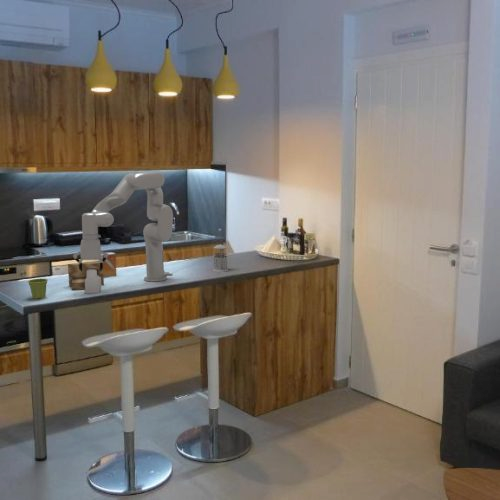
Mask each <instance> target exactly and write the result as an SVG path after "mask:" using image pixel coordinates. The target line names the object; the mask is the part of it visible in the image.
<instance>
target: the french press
mask: <svg viewBox="0 0 500 500" xmlns="http://www.w3.org/2000/svg"><path fill="white" fill-rule="evenodd" d="M221 231H222V228H218V232H221ZM227 248H228V247H227V246H226V245H225V244H221V243H219V244H216V245H215V246H214V247H213V250H219V252H216V253H214V256H213V269H212V271H213V272H228V271H229V268H228V256H227V253H226V252H225V251H224V250H225V249H227ZM222 250H223V251H222Z"/></svg>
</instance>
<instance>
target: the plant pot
mask: <svg viewBox="0 0 500 500" xmlns="http://www.w3.org/2000/svg"><path fill="white" fill-rule="evenodd" d="M48 281H49V280H48V278H34V279H29V280H27V283H28V286H29V289H30V292H31V298H32V299H33V300H34V299H35V300H38V299H44V298H46V296H47V295H46V294H47V283H48Z"/></svg>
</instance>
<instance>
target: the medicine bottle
mask: <svg viewBox="0 0 500 500" xmlns="http://www.w3.org/2000/svg"><path fill="white" fill-rule="evenodd" d="M86 277H87V278H86V279H85V290H84V294H100V293H101V291H102V285H101V277H99V273H98V269H95V268H91V269H87V270H86Z"/></svg>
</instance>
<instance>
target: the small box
mask: <svg viewBox="0 0 500 500" xmlns="http://www.w3.org/2000/svg"><path fill="white" fill-rule="evenodd" d="M106 253H107V254H108V257H107V258H106V260H105V261H104V262H103V275H104V278H106V277H107V278H108V277H115V276H117V256H116V253H115V252H111V251H110V252H106ZM104 257H105V255H103V254H101V259H103V258H104ZM98 263H100V261H99V260H98Z"/></svg>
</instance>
